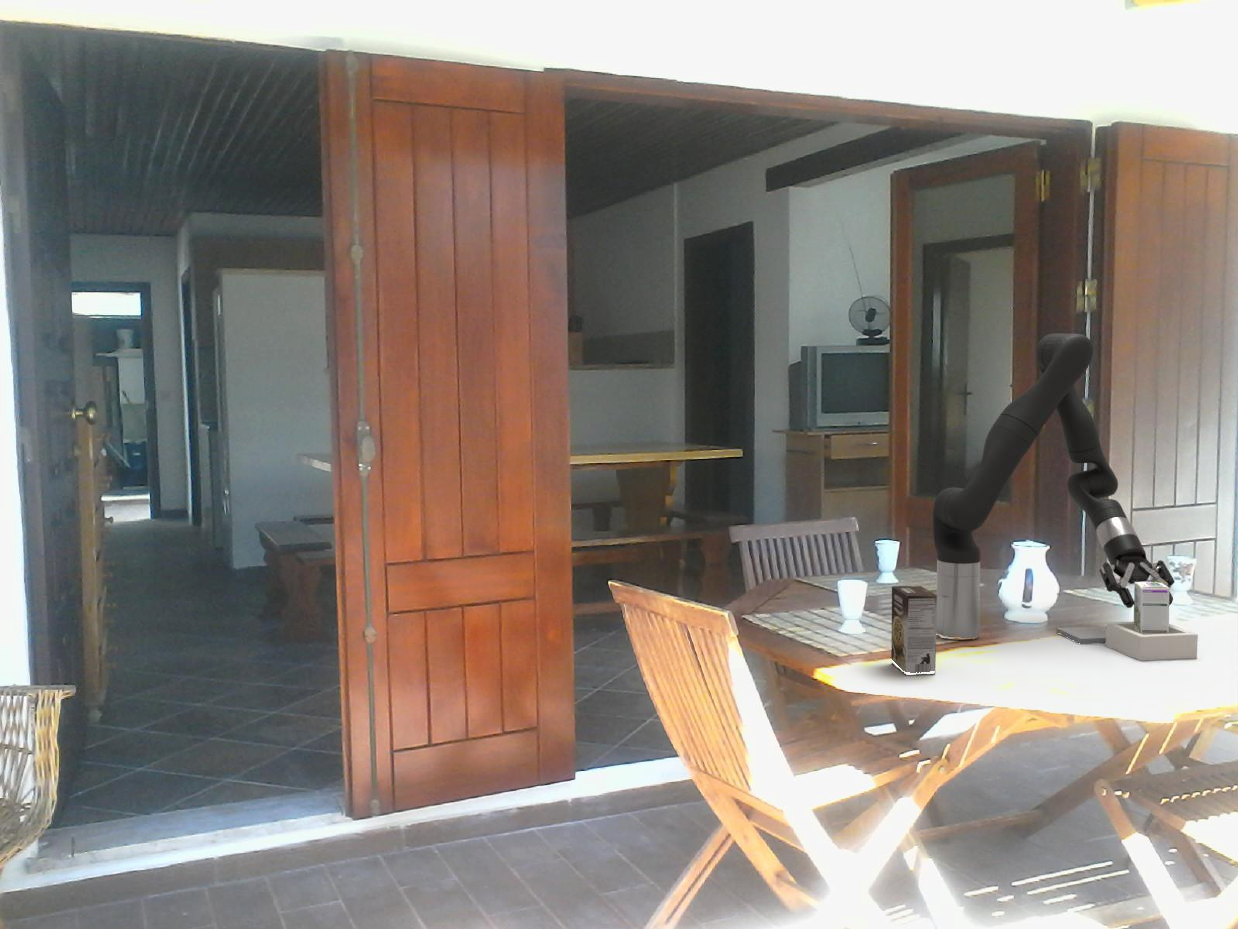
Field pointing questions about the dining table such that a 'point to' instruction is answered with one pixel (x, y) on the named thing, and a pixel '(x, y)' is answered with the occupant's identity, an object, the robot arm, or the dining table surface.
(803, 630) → the dining table surface
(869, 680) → the dining table surface
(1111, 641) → the open rectangular tray
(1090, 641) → the tile
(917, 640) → the coffee box
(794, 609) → the dining table surface
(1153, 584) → the syrup box
